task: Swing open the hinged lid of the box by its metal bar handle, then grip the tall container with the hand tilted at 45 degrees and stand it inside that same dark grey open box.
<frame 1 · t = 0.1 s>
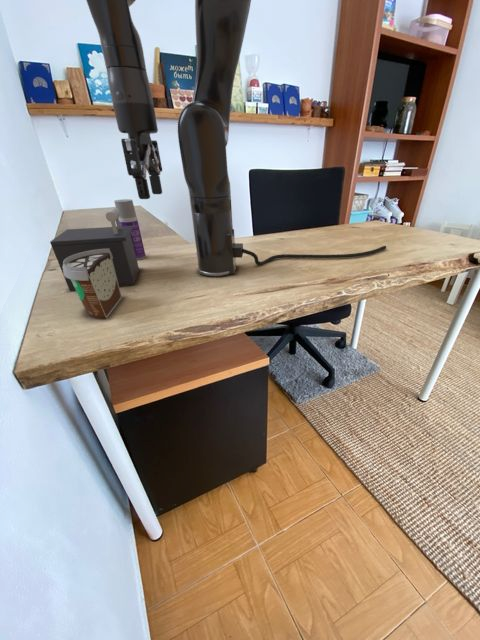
hand: (151, 196, 66), 17 cm above the table, tool pointing down, fingers open, 8 cm apart
container: (137, 258, 85), on the table
food container: (99, 309, 58), on the table
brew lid: (91, 223, 64), point 13 cm above the table, hinge at 0.0°
dark grey open box: (107, 279, 71), on the table
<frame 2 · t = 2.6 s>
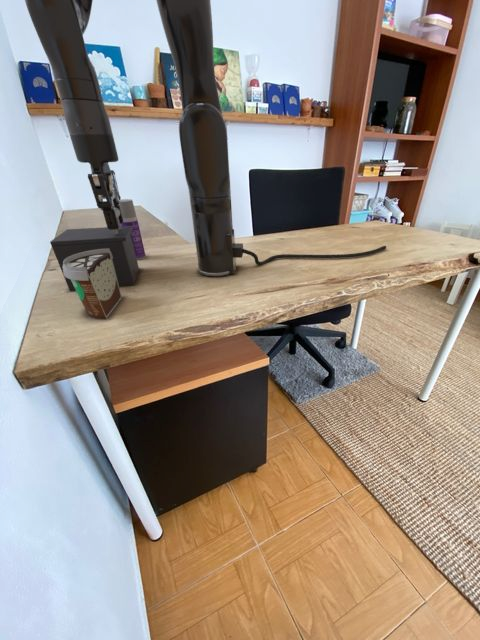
hand: (116, 225, 65), 12 cm above the table, tool pointing down, fingers closed on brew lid, 6 cm apart
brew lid: (91, 223, 64), point 13 cm above the table, hinge at 0.0°, touching gripper
everything else where it was.
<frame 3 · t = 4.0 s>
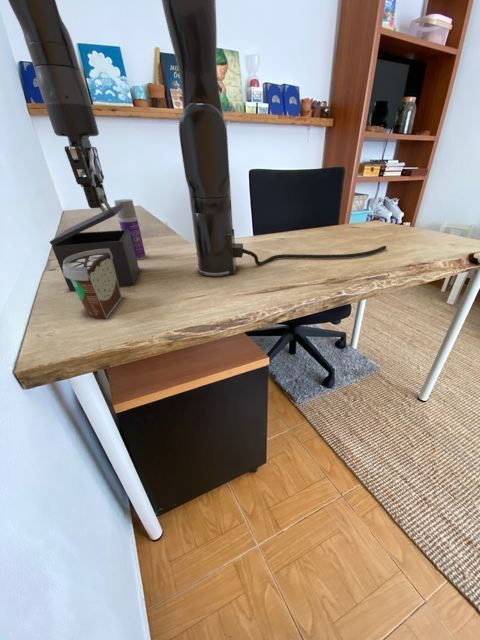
hand: (99, 205, 63), 16 cm above the table, tool pointing down, fingers closed on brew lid, 6 cm apart
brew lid: (81, 212, 63), point 15 cm above the table, hinge at 20.7°, touching gripper
everything else where it was.
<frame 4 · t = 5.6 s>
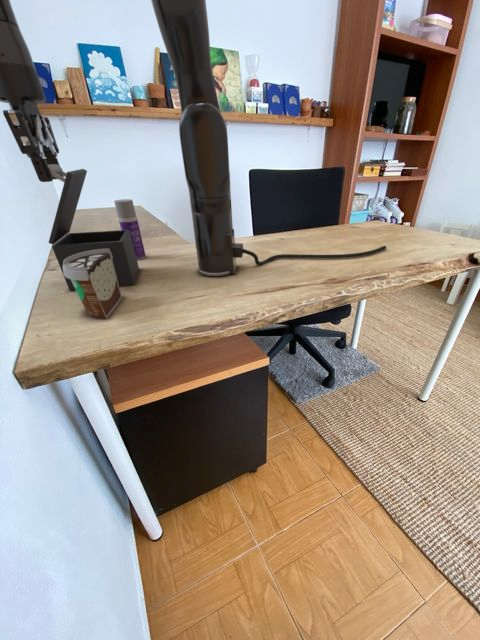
hand: (52, 179, 58), 21 cm above the table, tool pointing down, fingers closed on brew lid, 6 cm apart
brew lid: (55, 199, 60), point 18 cm above the table, hinge at 57.6°, touching gripper
everything else where it was.
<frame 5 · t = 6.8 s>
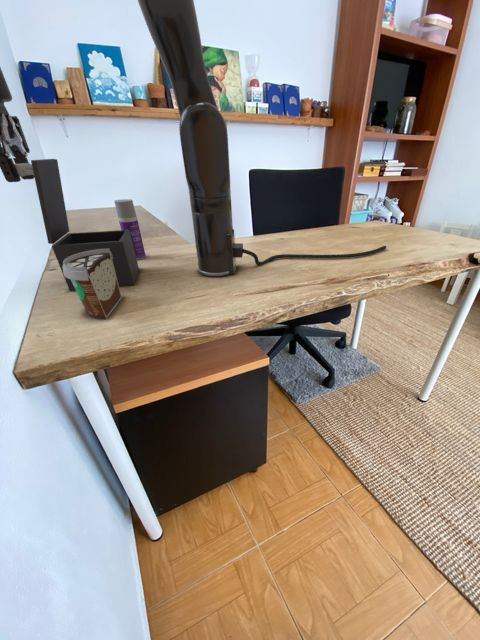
hand: (21, 180, 57), 21 cm above the table, tool pointing down, fingers closed on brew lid, 6 cm apart
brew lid: (39, 199, 60), point 18 cm above the table, hinge at 79.7°, touching gripper
everything else where it was.
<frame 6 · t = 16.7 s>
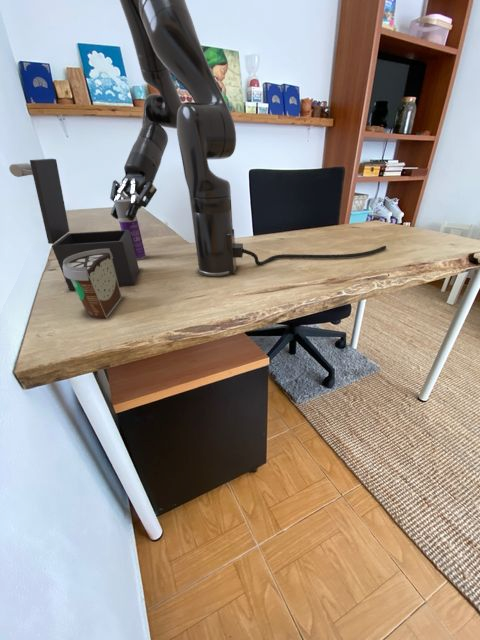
hand: (121, 217, 77), 11 cm above the table, tool tilted 45°, fingers closed on container, 4 cm apart
container: (137, 258, 85), on the table, touching gripper
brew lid: (39, 199, 60), point 18 cm above the table, hinge at 80.5°
everything else where it was.
when the fingers open (12 cm above the table, at t = 25.3 s): container stays where it is, resting on dark grey open box.
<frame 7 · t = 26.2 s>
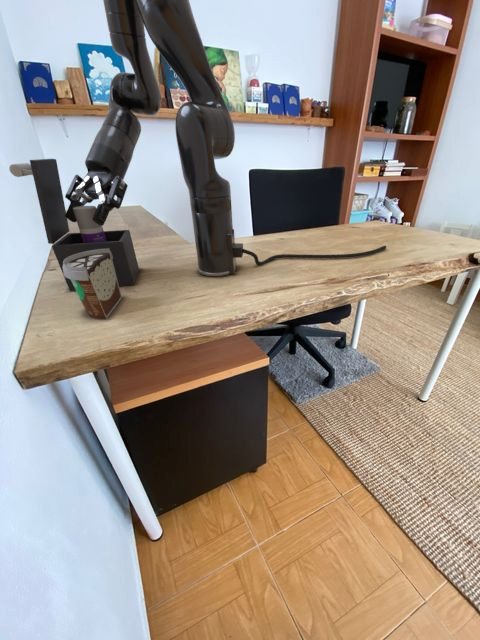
hand: (83, 221, 63), 13 cm above the table, tool tilted 45°, fingers open, 8 cm apart
container: (106, 276, 71), point 1 cm above the table, touching dark grey open box
everything else where it was.
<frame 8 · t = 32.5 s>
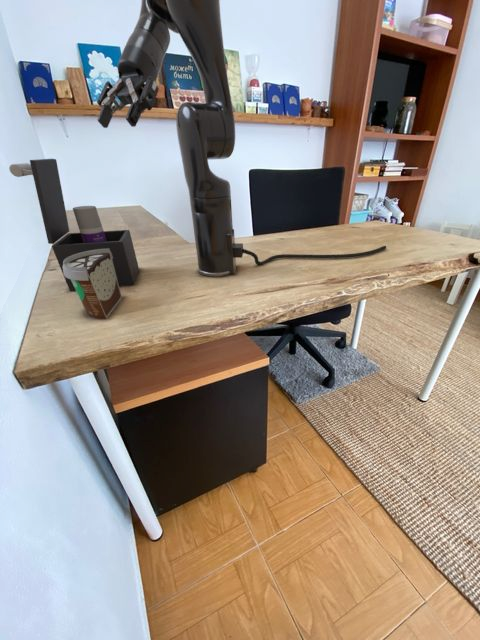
hand: (115, 123, 64), 31 cm above the table, tool tilted 45°, fingers open, 8 cm apart
nothing on the table moved.
at the end: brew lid at +80° (first picture: +0°); container inside the target area in the dark grey open box (0.5 cm from its centre), point 0.6 cm above the dark grey open box's base; container tilted 0° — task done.
